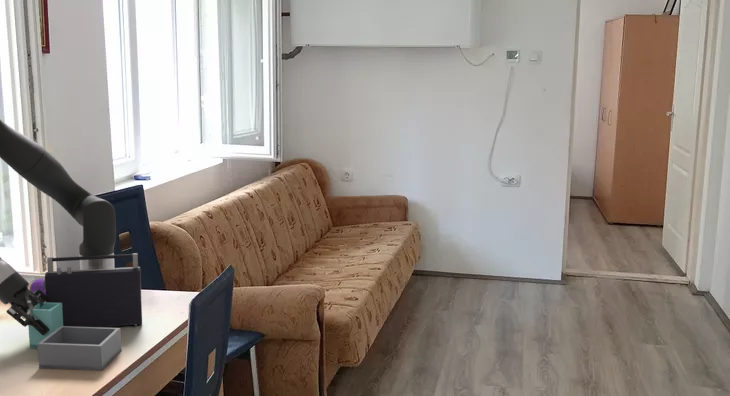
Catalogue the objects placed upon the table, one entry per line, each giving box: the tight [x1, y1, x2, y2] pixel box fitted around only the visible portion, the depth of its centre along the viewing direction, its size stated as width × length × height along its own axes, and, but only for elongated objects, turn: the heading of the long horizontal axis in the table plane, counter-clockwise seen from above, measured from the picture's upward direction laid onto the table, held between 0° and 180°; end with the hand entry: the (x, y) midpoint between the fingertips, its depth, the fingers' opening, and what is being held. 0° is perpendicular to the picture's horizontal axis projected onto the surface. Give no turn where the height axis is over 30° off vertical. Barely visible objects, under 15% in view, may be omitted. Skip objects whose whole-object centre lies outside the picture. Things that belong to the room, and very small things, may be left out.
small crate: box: [27, 302, 63, 349], centre depth 186 cm, size 6×6×10 cm
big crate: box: [37, 326, 122, 371], centre depth 177 cm, size 15×12×6 cm
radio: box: [43, 252, 143, 328], centre depth 198 cm, size 24×5×20 cm, turn 106°
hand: (52, 327), depth 186 cm, fingers closed on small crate, 6 cm apart
